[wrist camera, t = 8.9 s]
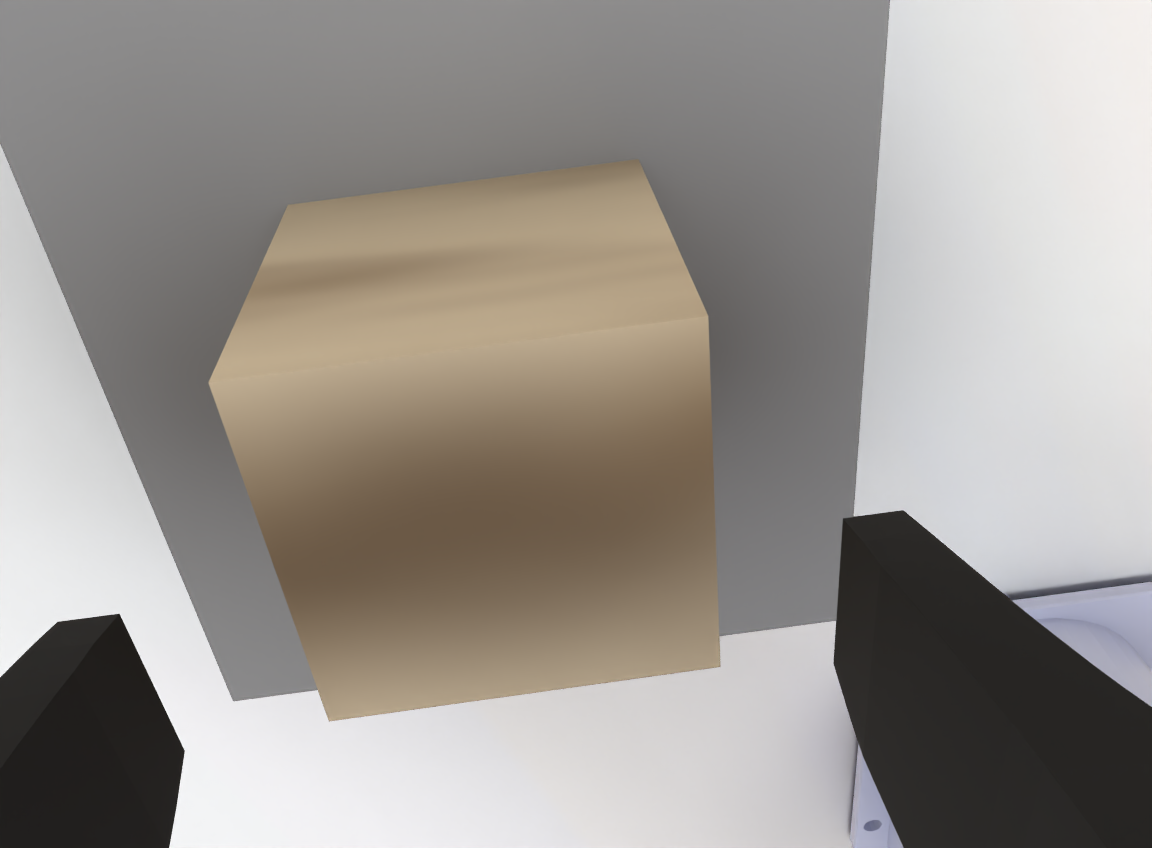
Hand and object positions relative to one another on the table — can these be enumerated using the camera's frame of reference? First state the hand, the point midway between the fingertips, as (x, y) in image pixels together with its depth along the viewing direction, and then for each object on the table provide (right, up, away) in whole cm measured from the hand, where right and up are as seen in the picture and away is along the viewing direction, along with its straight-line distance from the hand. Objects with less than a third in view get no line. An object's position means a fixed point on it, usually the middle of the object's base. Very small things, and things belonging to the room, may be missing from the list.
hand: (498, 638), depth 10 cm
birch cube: (-1, +4, +5) cm, 6 cm away
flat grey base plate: (-1, +6, +9) cm, 10 cm away
